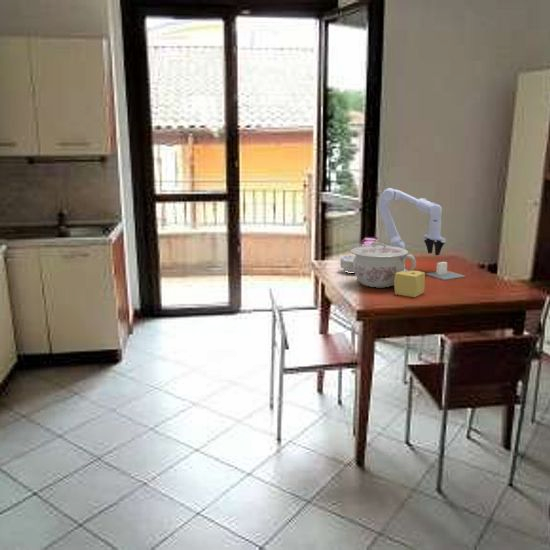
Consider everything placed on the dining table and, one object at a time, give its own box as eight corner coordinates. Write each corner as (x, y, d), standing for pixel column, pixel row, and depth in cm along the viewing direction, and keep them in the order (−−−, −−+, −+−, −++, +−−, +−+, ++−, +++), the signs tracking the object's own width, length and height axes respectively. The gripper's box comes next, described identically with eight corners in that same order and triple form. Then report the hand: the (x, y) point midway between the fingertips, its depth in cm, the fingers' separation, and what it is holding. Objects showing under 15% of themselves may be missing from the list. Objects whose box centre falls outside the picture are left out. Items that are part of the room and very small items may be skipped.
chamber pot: (339, 281, 274) (340, 240, 270) (386, 275, 284) (388, 236, 279) (368, 295, 249) (369, 250, 244) (419, 288, 259) (421, 245, 254)
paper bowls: (369, 276, 284) (369, 261, 282) (339, 275, 286) (339, 260, 284) (369, 269, 298) (369, 255, 296) (341, 268, 301) (341, 254, 299)
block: (438, 275, 280) (439, 263, 279) (436, 274, 282) (436, 262, 281) (446, 273, 282) (447, 262, 281) (443, 273, 284) (444, 261, 283)
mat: (444, 280, 272) (444, 279, 272) (425, 274, 284) (425, 273, 284) (465, 277, 278) (465, 275, 278) (446, 271, 290) (446, 270, 290)
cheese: (403, 289, 258) (404, 268, 255) (425, 293, 251) (426, 271, 248) (393, 294, 250) (394, 273, 247) (415, 298, 243) (416, 276, 241)
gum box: (372, 269, 298) (373, 244, 295) (358, 268, 301) (358, 244, 298) (377, 260, 321) (378, 237, 317) (364, 259, 323) (364, 236, 320)
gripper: (450, 229, 278) (449, 255, 281) (431, 225, 291) (430, 251, 294) (440, 230, 275) (438, 257, 278) (421, 226, 288) (419, 252, 291)
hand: (433, 254), depth 286 cm, fingers open, 5 cm apart
